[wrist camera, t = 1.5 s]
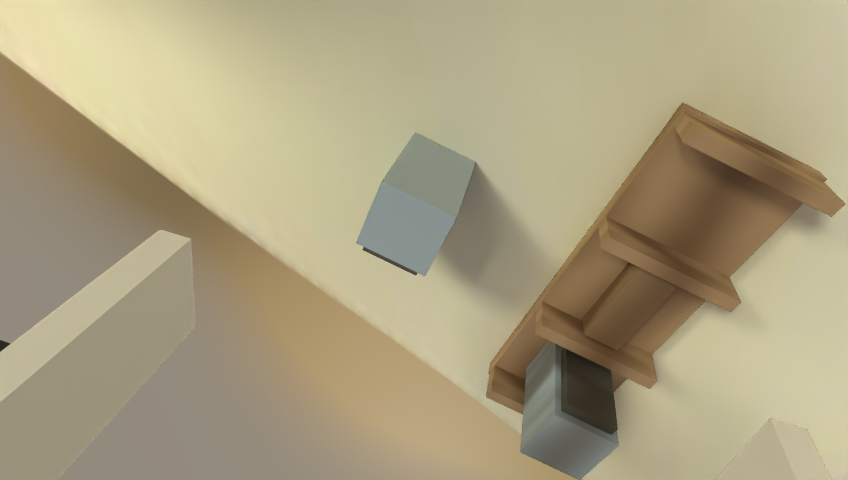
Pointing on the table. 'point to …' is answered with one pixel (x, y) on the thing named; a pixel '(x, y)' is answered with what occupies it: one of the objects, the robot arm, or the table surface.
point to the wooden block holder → (644, 281)
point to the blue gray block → (416, 205)
